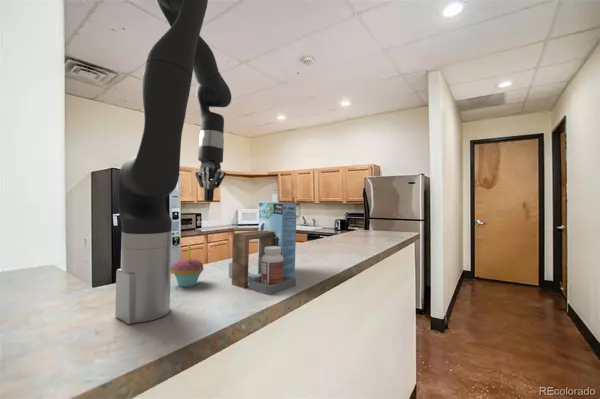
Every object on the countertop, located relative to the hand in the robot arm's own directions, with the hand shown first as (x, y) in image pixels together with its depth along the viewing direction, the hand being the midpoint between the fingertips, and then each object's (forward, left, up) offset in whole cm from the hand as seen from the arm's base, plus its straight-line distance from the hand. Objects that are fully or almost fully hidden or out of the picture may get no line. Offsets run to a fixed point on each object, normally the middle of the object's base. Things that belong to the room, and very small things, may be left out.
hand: (208, 201), depth 91 cm
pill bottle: (+4, -24, -23) cm, 34 cm away
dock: (+4, -24, -23) cm, 34 cm away
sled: (+4, -14, -23) cm, 27 cm away
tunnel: (+4, -16, -23) cm, 29 cm away
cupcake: (-10, -4, -23) cm, 26 cm away
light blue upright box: (+14, -16, -23) cm, 31 cm away
